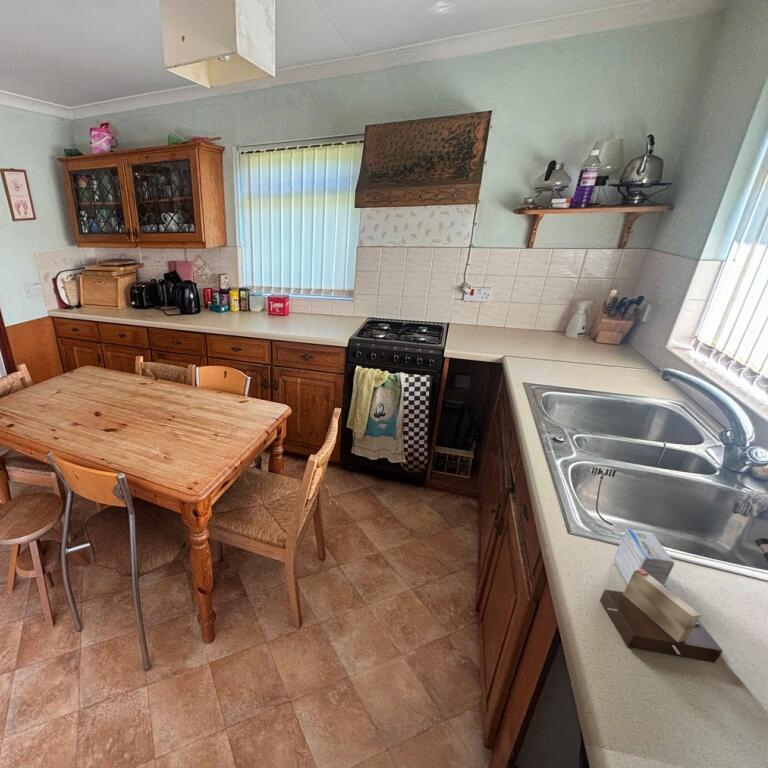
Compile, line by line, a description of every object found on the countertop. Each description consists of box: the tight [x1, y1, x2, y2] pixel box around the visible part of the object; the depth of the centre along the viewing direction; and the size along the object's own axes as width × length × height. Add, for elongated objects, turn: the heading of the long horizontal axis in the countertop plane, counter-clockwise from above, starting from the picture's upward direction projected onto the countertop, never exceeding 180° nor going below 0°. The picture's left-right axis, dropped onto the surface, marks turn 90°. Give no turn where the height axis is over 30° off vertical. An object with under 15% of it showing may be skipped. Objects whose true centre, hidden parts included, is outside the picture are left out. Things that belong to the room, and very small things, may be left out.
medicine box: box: [612, 528, 675, 587], centre depth 79 cm, size 8×4×9 cm, turn 161°
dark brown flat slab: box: [599, 589, 724, 664], centre depth 71 cm, size 14×13×3 cm
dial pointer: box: [623, 569, 702, 642], centre depth 69 cm, size 9×2×6 cm, turn 10°
